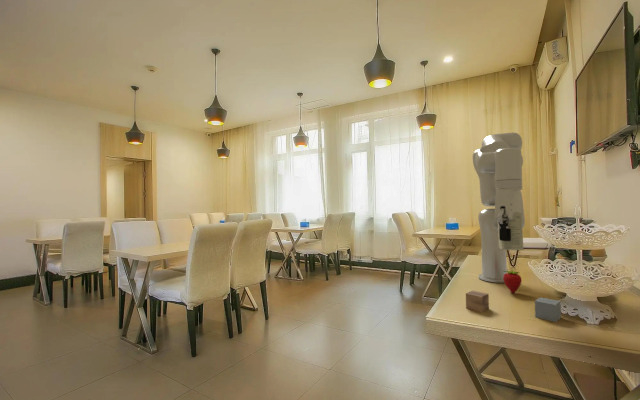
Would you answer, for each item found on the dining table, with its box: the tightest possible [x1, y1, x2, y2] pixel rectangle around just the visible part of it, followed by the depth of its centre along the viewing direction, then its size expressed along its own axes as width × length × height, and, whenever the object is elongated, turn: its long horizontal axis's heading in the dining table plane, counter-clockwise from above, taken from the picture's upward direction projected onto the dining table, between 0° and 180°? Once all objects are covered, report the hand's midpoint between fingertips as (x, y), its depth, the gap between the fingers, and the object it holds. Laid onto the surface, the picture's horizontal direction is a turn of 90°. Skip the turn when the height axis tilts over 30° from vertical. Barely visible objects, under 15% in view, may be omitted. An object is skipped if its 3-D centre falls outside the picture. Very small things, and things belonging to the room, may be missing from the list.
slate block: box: [534, 296, 562, 323], centre depth 90 cm, size 5×5×5 cm
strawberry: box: [503, 270, 523, 294], centre depth 113 cm, size 6×8×10 cm
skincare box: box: [498, 213, 524, 251], centre depth 99 cm, size 6×4×12 cm
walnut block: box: [465, 290, 490, 313], centre depth 98 cm, size 5×5×5 cm
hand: (510, 239), depth 99 cm, fingers closed on skincare box, 6 cm apart
